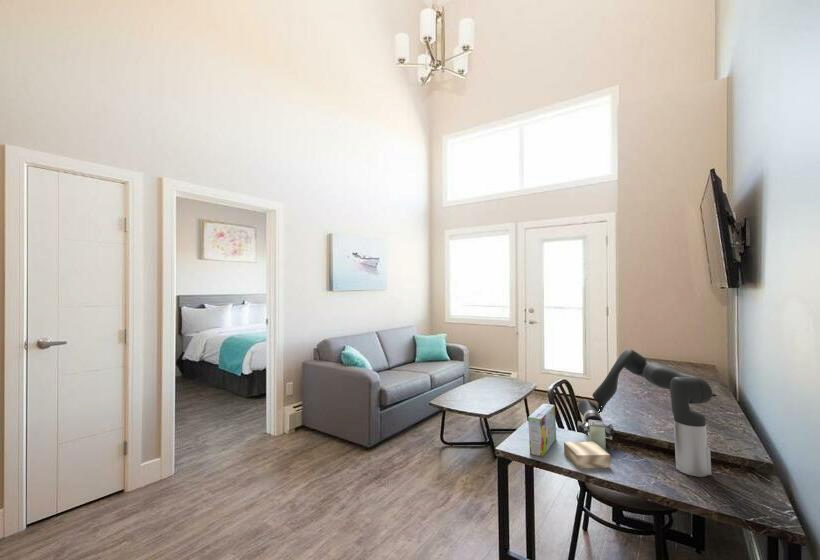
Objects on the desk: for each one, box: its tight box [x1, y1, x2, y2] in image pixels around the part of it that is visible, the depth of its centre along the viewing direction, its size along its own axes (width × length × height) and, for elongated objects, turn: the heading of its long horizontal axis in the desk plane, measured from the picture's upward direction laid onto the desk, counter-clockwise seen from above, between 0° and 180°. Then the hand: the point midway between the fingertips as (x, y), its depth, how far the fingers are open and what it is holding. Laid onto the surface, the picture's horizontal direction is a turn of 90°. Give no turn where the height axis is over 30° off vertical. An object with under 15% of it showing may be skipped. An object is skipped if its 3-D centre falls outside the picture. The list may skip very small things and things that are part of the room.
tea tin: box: [588, 420, 607, 451], centre depth 153 cm, size 6×6×10 cm
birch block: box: [563, 441, 611, 469], centre depth 141 cm, size 12×12×5 cm
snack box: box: [527, 403, 557, 458], centre depth 154 cm, size 21×6×15 cm, turn 144°
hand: (597, 434), depth 151 cm, fingers open, 7 cm apart
